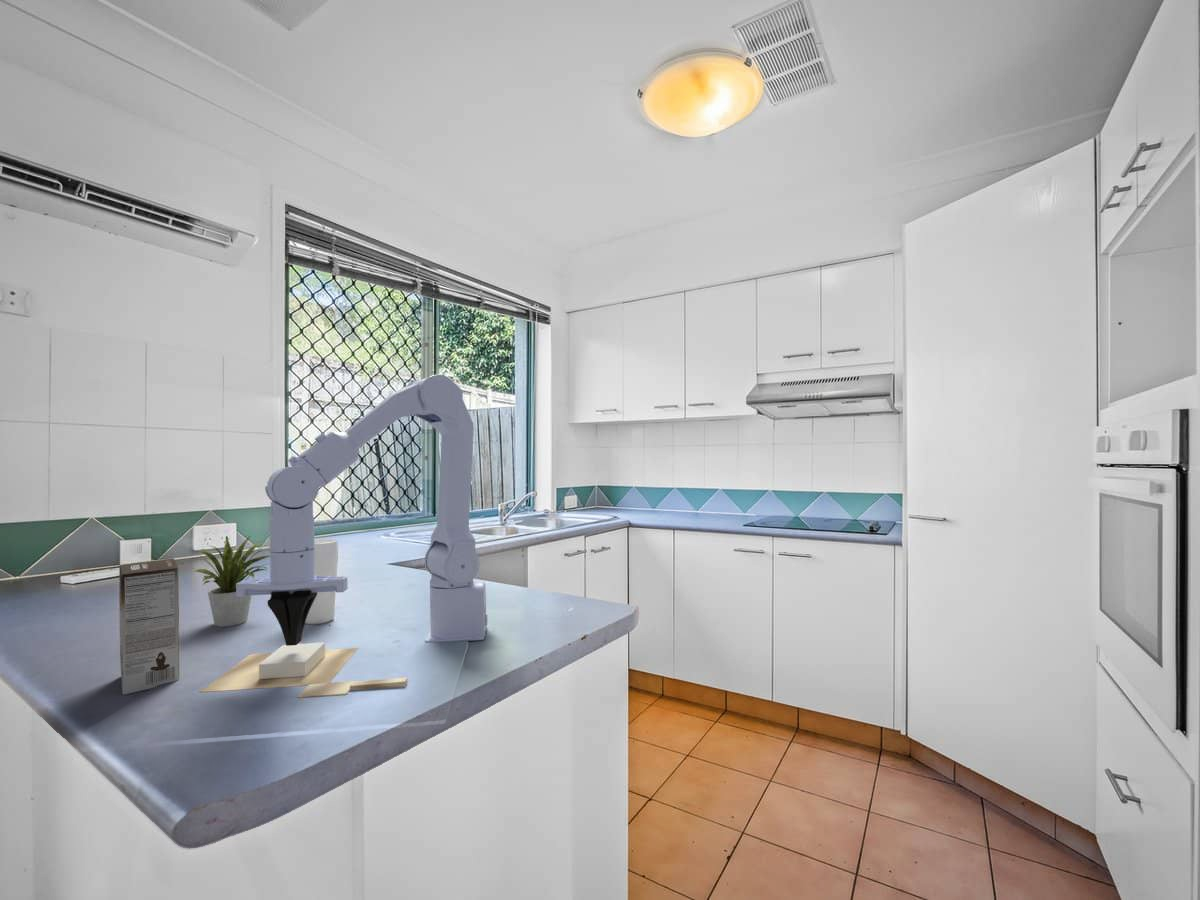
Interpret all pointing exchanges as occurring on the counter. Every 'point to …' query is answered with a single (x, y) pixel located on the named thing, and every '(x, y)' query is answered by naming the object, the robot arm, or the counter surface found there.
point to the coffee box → (149, 624)
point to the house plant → (230, 584)
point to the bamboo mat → (248, 678)
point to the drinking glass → (324, 566)
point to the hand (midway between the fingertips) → (293, 643)
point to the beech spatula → (350, 687)
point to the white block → (292, 661)
